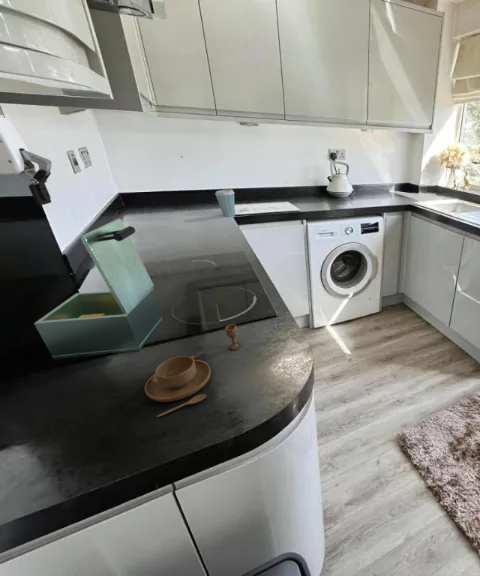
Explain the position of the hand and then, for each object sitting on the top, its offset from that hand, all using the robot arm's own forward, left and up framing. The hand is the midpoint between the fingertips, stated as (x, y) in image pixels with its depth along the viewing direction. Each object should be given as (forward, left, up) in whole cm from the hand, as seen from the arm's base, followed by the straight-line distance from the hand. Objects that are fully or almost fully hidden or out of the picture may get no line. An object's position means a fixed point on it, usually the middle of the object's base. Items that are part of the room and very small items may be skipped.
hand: (16, 204), depth 65 cm
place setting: (+34, -15, -34) cm, 51 cm away
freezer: (+6, +2, -34) cm, 35 cm away
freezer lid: (+13, +3, -15) cm, 20 cm away
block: (+2, +2, -33) cm, 33 cm away
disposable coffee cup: (-7, +135, -34) cm, 140 cm away
